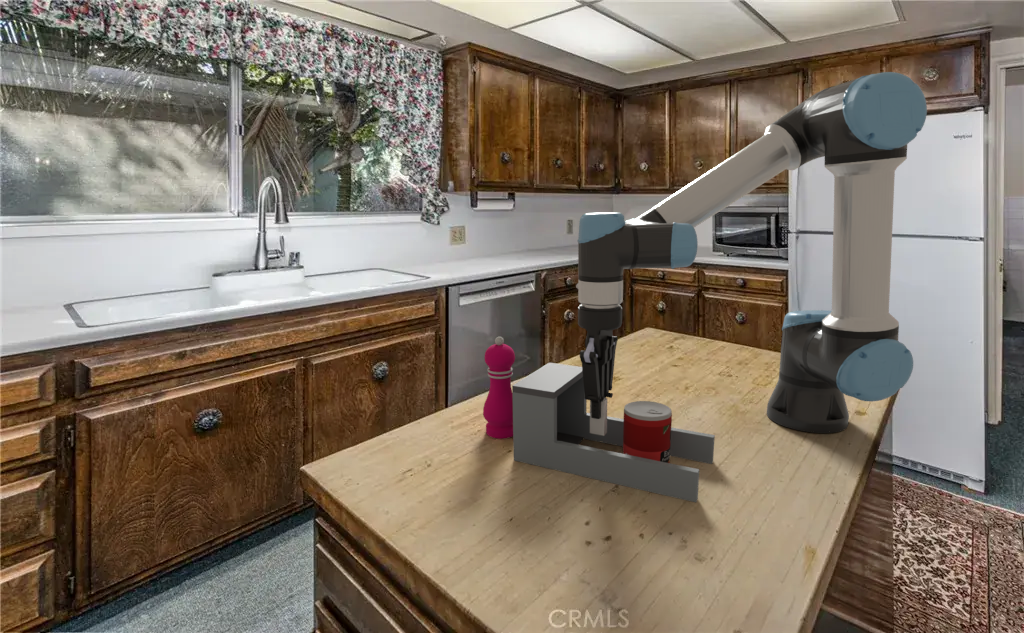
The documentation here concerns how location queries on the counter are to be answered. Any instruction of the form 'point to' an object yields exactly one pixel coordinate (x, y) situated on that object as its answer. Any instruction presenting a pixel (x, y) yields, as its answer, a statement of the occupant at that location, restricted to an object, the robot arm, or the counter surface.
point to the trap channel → (594, 438)
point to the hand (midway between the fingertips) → (598, 432)
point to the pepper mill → (499, 390)
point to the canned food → (647, 430)
